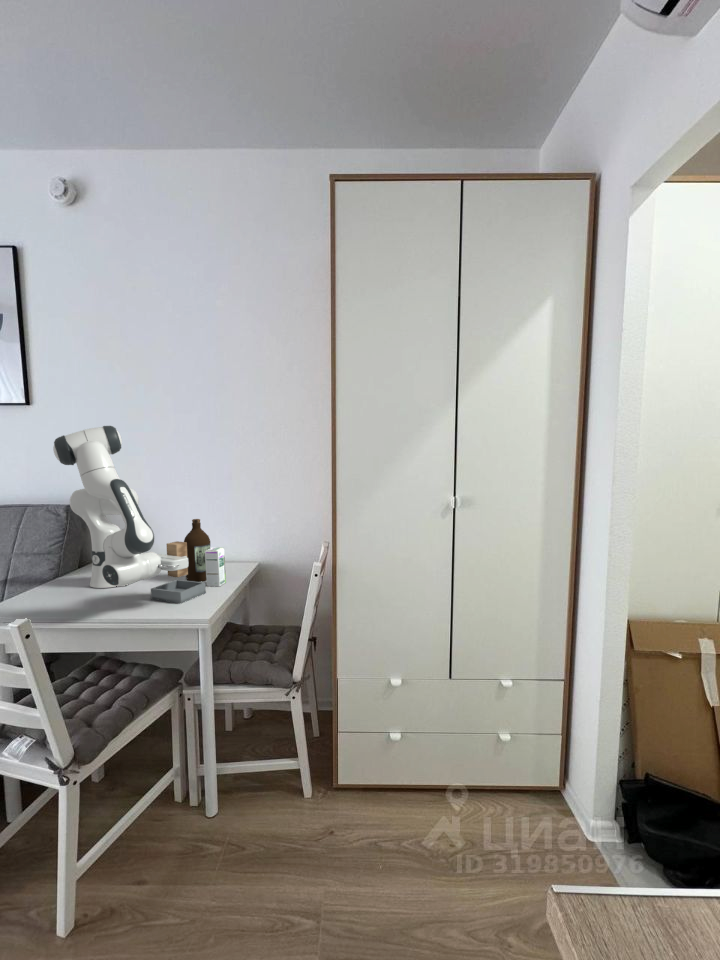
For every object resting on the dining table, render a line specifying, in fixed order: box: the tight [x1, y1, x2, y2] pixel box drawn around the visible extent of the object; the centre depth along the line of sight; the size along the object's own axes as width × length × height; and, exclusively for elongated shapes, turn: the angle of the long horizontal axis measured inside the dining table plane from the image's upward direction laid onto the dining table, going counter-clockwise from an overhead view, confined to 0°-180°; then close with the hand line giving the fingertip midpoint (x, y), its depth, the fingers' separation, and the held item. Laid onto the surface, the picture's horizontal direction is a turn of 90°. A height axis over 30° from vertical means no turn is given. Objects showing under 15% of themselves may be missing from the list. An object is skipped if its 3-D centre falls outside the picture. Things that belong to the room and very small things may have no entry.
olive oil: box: [183, 518, 211, 582], centre depth 227 cm, size 11×11×25 cm
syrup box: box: [205, 546, 227, 588], centre depth 219 cm, size 6×6×14 cm
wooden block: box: [166, 540, 188, 578], centre depth 203 cm, size 5×5×12 cm
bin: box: [150, 579, 207, 604], centre depth 204 cm, size 14×14×4 cm
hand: (179, 557), depth 204 cm, fingers closed on wooden block, 5 cm apart
